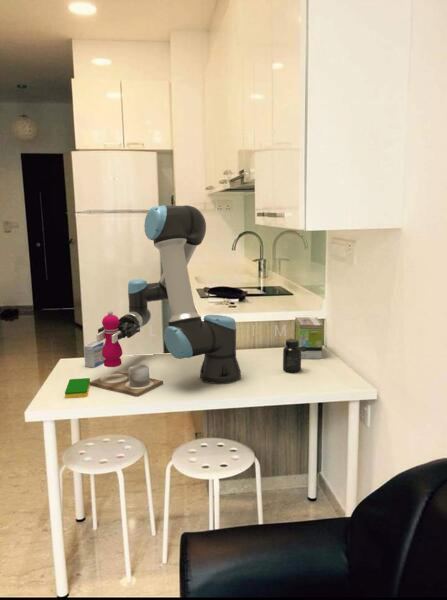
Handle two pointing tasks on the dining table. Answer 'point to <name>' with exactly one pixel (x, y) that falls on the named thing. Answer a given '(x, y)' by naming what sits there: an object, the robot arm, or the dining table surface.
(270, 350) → the dining table surface
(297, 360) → the supplement bottle
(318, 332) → the tea box
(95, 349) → the medicine box
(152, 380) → the board
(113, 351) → the pepper mill
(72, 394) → the dish sponge
